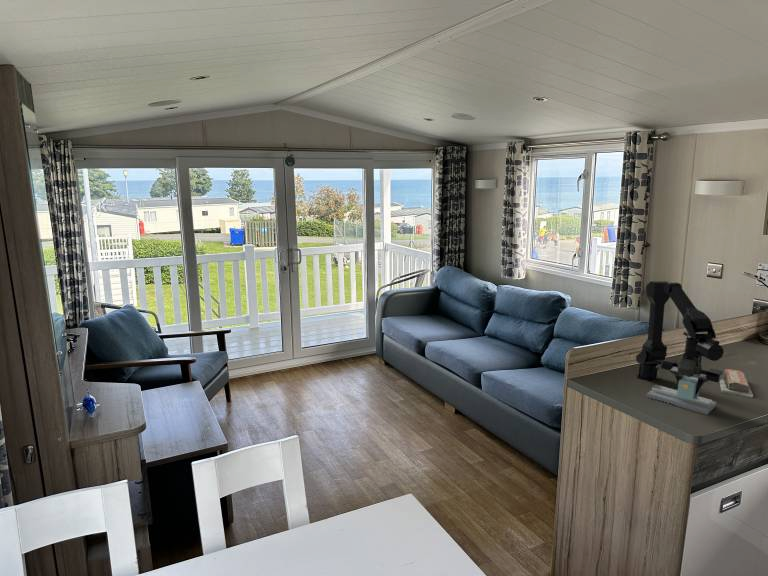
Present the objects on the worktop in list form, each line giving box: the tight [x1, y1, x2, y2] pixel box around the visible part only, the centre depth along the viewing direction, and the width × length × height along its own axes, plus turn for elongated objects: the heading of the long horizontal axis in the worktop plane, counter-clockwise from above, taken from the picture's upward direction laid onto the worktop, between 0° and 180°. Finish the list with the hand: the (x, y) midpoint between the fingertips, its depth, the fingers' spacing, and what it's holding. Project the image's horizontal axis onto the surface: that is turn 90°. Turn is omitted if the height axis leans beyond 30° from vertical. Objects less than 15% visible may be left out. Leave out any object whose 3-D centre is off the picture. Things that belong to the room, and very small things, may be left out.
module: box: [677, 375, 700, 400], centre depth 192 cm, size 5×8×6 cm, turn 134°
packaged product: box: [718, 368, 754, 398], centre depth 208 cm, size 18×5×10 cm
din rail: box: [651, 384, 714, 407], centre depth 194 cm, size 19×4×2 cm, turn 44°
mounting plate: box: [646, 389, 717, 415], centre depth 194 cm, size 20×10×2 cm, turn 44°
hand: (688, 392), depth 192 cm, fingers closed on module, 5 cm apart
